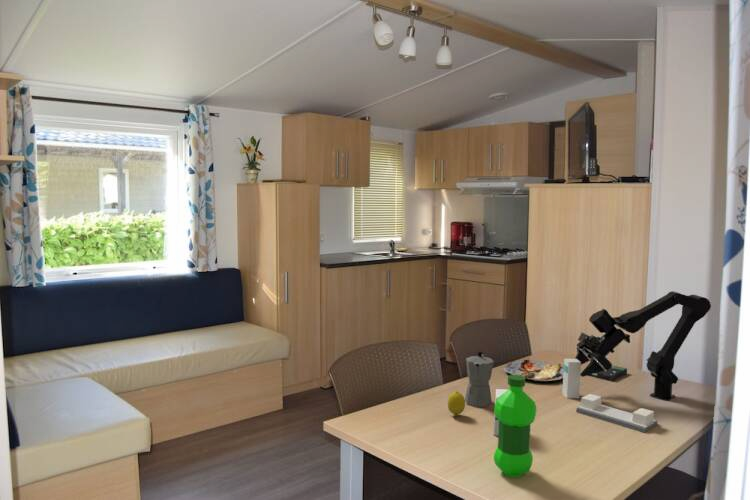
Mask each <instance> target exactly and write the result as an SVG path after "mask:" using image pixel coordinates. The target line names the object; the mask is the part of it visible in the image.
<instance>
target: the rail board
mask: <svg viewBox="0 0 750 500" xmlns="http://www.w3.org/2000/svg"><path fill="white" fill-rule="evenodd" d="M580 398H581V401H580V402H581V403H580V405H579V406H577V408H576V413H579V414H582V415H585V416H589V417H591V418H594V419H597V420H602V421H604V422H607V423H611V424H614V425H618V426H621V427H624V428H628V429H630V430H634V431H637V432H641V433H644V434H645V433H646V432H647V431H649V430H650V429H652V428H654V427H655V426H658V423H659V422H658V420H657V419H654V418H655V411H654V410H649V409H647V408H644V407H643V408H642V407H640V408H637V409H636V410H635V411H633V412H629V411H625V410H621V409H619V408H616V407H615V408H614V407H610V406H607V405H604V404H602V396H599V395H595V394H591V393H589V394H586V395H584V396H583V397H580Z"/></svg>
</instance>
